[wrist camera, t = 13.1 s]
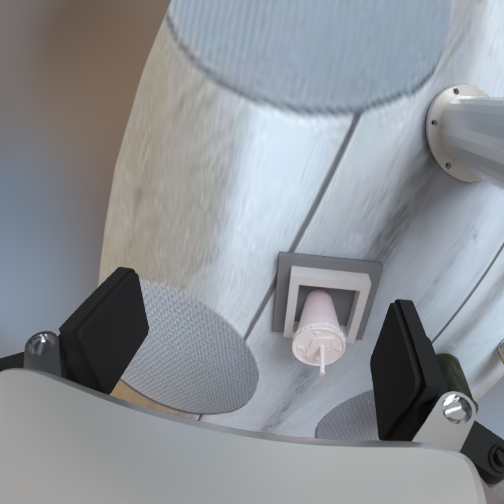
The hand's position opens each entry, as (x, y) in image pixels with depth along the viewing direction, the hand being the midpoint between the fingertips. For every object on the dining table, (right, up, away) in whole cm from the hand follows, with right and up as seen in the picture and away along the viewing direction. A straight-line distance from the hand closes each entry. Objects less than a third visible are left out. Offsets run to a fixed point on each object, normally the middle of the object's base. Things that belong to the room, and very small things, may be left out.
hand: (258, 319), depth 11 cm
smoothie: (+9, -4, +31) cm, 33 cm away
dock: (+10, -4, +32) cm, 34 cm away
